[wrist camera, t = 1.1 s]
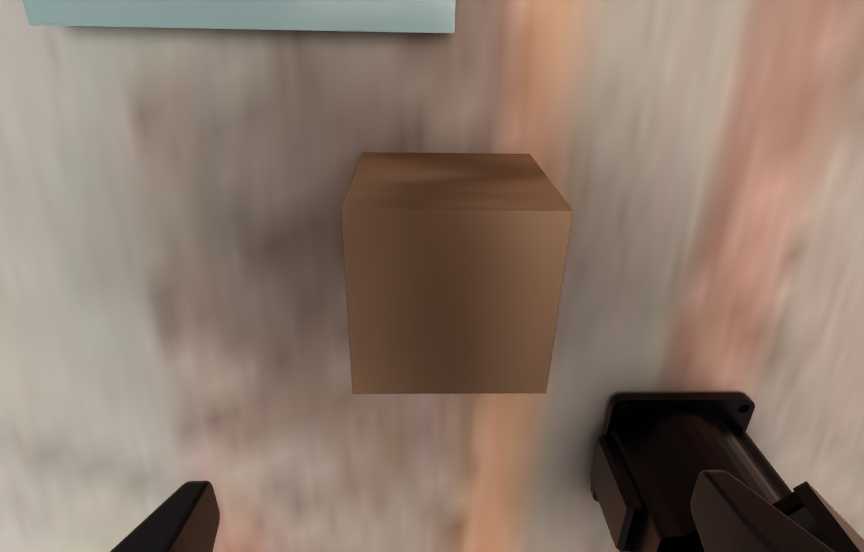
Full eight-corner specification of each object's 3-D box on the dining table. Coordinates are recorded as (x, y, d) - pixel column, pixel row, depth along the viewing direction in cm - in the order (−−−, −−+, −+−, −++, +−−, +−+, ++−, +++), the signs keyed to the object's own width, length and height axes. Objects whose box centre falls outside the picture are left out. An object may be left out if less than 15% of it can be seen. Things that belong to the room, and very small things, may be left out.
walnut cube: (529, 153, 19) (572, 211, 14) (514, 298, 22) (545, 393, 17) (362, 151, 19) (340, 209, 14) (368, 298, 22) (352, 393, 16)
